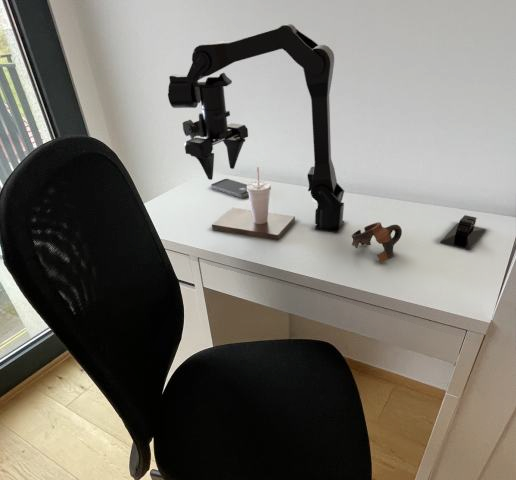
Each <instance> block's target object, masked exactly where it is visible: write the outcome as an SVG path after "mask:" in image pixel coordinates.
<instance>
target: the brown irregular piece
mask: <svg viewBox="0 0 516 480" xmlns="http://www.w3.org/2000/svg"><path fill="white" fill-rule="evenodd" d="M363 230H364V231H363V232H362V230H361V229H358V230H356V231H355V232H354V233H352V235H351V239H352V242H351V246H352V247H353V246H354V247H355V249H356V250H358V249H359V248H358V247H359V245H361V246H362V247H363V246H371V245H372V244H371V241H372V238H373V237H374V238H375V241H376V242H377V243H378V244H379V245H380V244H381V245H382V248H383V251H381V252H380V253H377V255H376V257H377V259H378V262H379V264H382V263H384V262H386V261H388V260H390V259H392V257H394V246H395V245H396V244H397V243H398V242H399V241H400V239H401V238H402V234H403V230H402V228H401V226H400V225H398V224H391V225H389V226H386V227H384V226H383V225H382V223H381V222H375V223H371V224H369V225H367V226H365V227H363ZM392 232H394V234H393V236H392Z"/></svg>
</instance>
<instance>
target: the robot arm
mask: <svg viewBox="0 0 516 480" xmlns="http://www.w3.org/2000/svg"><path fill="white" fill-rule="evenodd" d="M279 50H282V51H285V53H286V54H288V56H289V57H290V58H291V59H292V60H293V61H294V62H295V63H297V65H298V66H300V67H301V68H302V69H303V74H304V79H305V84H306V87H307V91H308V95H309V96H310V102H311V121H312V139H313V141H312V142H313V158H314V166H311V167H310V168H309V171H308V173H307V181H308V189H307V191H308V192H310V194H311V198H312V199H314V200H315V201H316V203H317V208H315V210H314V211H315V212H314V213H315V214H314V215H315V217H314V224H315V225H314V229H315V230H317V231H324V232H331V233H339V231H340V230H341V228H342V227H343V226H344V224H345V220H344V208H345V202H343V201H342V200H343V197H344V194H345V190H344V188H342V186H341V185H340V184H339V183H338V181H337V175H336V174H337V173H336V170H335V166H334V163H333V161H332V150H331V149H332V144H331V142H332V141H331V106H330V105H331V104H330V92H331V86H332V81H333V74H334V67H335V54H334V51H333V50H332V49H331V47H329V46H328V45H325V44H318V43H317V42H316V41H314V40H313V39H312V38H310V37H309V36H307V35H306V34H305V33H303V32H301V31H300V30H299V29H297V28H296V26H294V25H293V24H292V23H285V24H283V25H281V26H279V27H277V28H273V29H270V30H267V31H264V32H260V33H256V34H253V35H250V36H247V37H243V38H240V39H237V40H229V41H227V40H224V41H223V40H220V41H209V42H205V43H203V44H199V45H197V46H196V47H195V48H194V49H193V52H192V56H191V61H192V63H191V66H190V67H189V70H188V72H187V75H183V74H181V75H180V74H171V75H169V77H168V78H169V83H168V87H167V89H168V90H167V92H168V93H167V99H168V102H169V104H170V107H172V108H173V109H195V108H197V107H198V105H199V104H200V106H201V111H202V112H200V113H198V120H197V121H194V122H193V121H192V119H187V120H185V121H183V122H182V131H183V134H184V135H185V136H186V137H190V139H188V140H186V141H185V143H184V151H185V154H186V155H190V156H191V157H193V158H195V159H196V160H197V161H198V162H199V164H200V165H201V167H202V169H203V171H204V173H205V175H206V178H207V180H209V181H212V180H213V179H214V178H213V176H214V167H215V165H214V163H215V153H214V152H213V150H214V146H215V145H217V144H220V143H221V142H223V143H224V145H225V147H226V153H227V159H228V165H229V168H230V169H231V170H234V169H235V167H236V164H237V161H238V159H239V155H240V153H241V150H242V148H243V146H244V144H245V142H246V138H248V137H249V130H248V128H247V126H246V125H245V124H240V123H232V122H231V123H229V124H228V119H227V118H228V117H230V116H231V112H230V110H227V107H226V100H225V99H226V97H225V88H224V87H228V86H230V85H232V83H233V80H232V79H230V77H228V76H227V74H226V73H225V72H221V73H220V74H219V76H211V75H213V74H215V73H218V72H219V71H220V70H223V69H225V68H227V67H228V66H230V65H232V64H234V63H236V62H239V61H243V60H247V59H251V58H254V57H258V56H261V55H265V54H268V53H271V52H275V51H279ZM206 77H207V78H206ZM203 78H206V80H205V81H200V80H201V79H203Z"/></svg>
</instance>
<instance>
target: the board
mask: <svg viewBox="0 0 516 480" xmlns="http://www.w3.org/2000/svg"><path fill="white" fill-rule="evenodd" d="M295 222H296V216H295V215H288V214H282V213H275V212H268V219H267V222H266V223H263V224H257V223H255V222H254V219H253V214H252V209H247V208H246V209H245V208H238V207H231V208H229V209H228V210H227V211H226V212H225V213H223V214H222V215H221V216H220V217H219V218H218V219H217V220H215V221H214V222H212V224H211V229H212V230H214V231H219V232H224V233H232V234H238V235H243V236H250V237H256V238H262V239H268V240H274V241H279V240H280V239H281V238H282V237H283V236H284V234H285V233H286V232H287V231H288V230H289V229H290V228H291V227H292V225H293V224H294V223H295Z"/></svg>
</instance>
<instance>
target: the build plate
mask: <svg viewBox="0 0 516 480" xmlns="http://www.w3.org/2000/svg"><path fill="white" fill-rule="evenodd" d="M477 219H478V217H476V216H475V217H474V216H470V215H466V214H464V215H463V216H462V217H461V218H460V219H459V221H458V222H457V223H456V224H455V225H453V227H452V228H451V229H450V230H449V231H448V232H447V233H446V234H445V236H443V238H441V239H440V240H439V243H440V244H443V245H447V246H451V247H455V248H458V249H463V250H466V251H470V250H471V249H472V248H473V246H474V245H475V244H476V243H477V241H478V240H479V239H480V238H481V237H482V236H483V235H484V233H485V232H486V230H487V229H486V228H483V227H479V226H476V222H477Z"/></svg>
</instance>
